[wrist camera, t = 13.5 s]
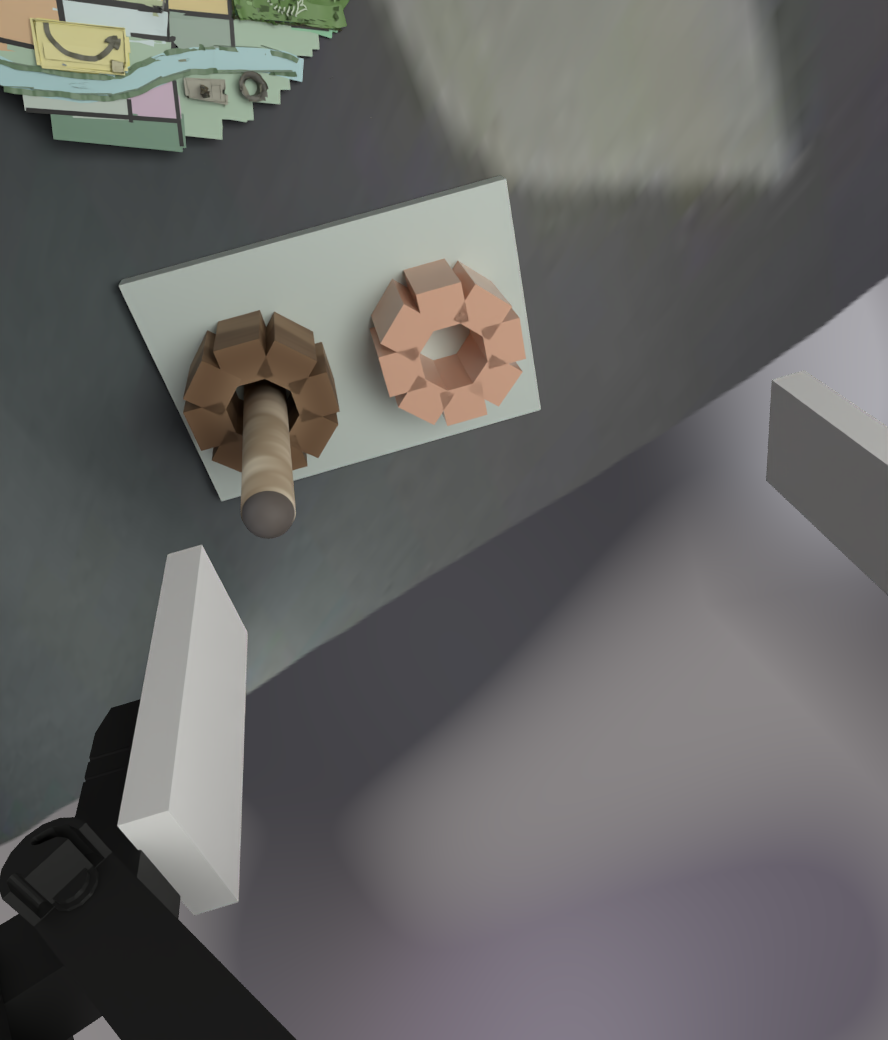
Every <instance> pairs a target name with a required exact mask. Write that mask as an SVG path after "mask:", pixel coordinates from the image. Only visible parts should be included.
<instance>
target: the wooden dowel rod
mask: <svg viewBox="0 0 888 1040" xmlns="http://www.w3.org/2000/svg"><path fill="white" fill-rule="evenodd" d="M295 515H296V509H295V497H294V484H293V472H292V460H291V448H290V435H289V423H288V411H287V398H286V389H285V388H283V387H281V386H279V385H277V384H275V383H273V382H271V381H268V380H266V379H262V380H259V381H255V382H252V383H248V384H245V385H244V409H243V445H242V481H241V518H242V521H243V522H244V524H245V526H246V527H247V529H248V530H249V531H250V532H251V533H253V534H254V535H256V536H258V537H261V538H267V539H269V538H276V537H278V536H281V535H282V534H284V533H285V532H286V531H287V530H288V529H289V528H290V527H291V525H292V523H293V521H294V519H295Z"/></svg>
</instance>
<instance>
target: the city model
mask: <svg viewBox="0 0 888 1040" xmlns="http://www.w3.org/2000/svg"><path fill="white" fill-rule="evenodd" d="M348 2H349V0H0V85H1V86H4V92H7V93H12V94H21V95H23V101H24V108H25V111H26V112H28V113H42V114H50V115H51V123H52V131H53V139H56V140H66V141H76V142H86V143H96V144H106V145H116V146H126V147H137V148H147V149H157V150H167V151H177V152H183V150H182V148H186V138H185V136H192V137H201V138H211V139H220V140H222V128H223V126H222V119H229V120H236V121H242V122H247V120H254V116H253V102H261V103H271V104H280V90H290V80H289V79H291V80H295V81H300V82H302V77H303V63H304V59H302V58H298V57H299V56H311V57H312V49H319V35H322V36H325V37H328V38H331V37H332V33H337V32H338V31H342V29H340V28H341V27H345V26H347V24H346V20H345V16H344V12H343V9H344V8H345V6H346V5H347V3H348ZM338 29H339V30H338ZM318 34H319V35H318ZM176 45H177V46H178V48H176ZM339 126H340V125H339Z"/></svg>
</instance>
